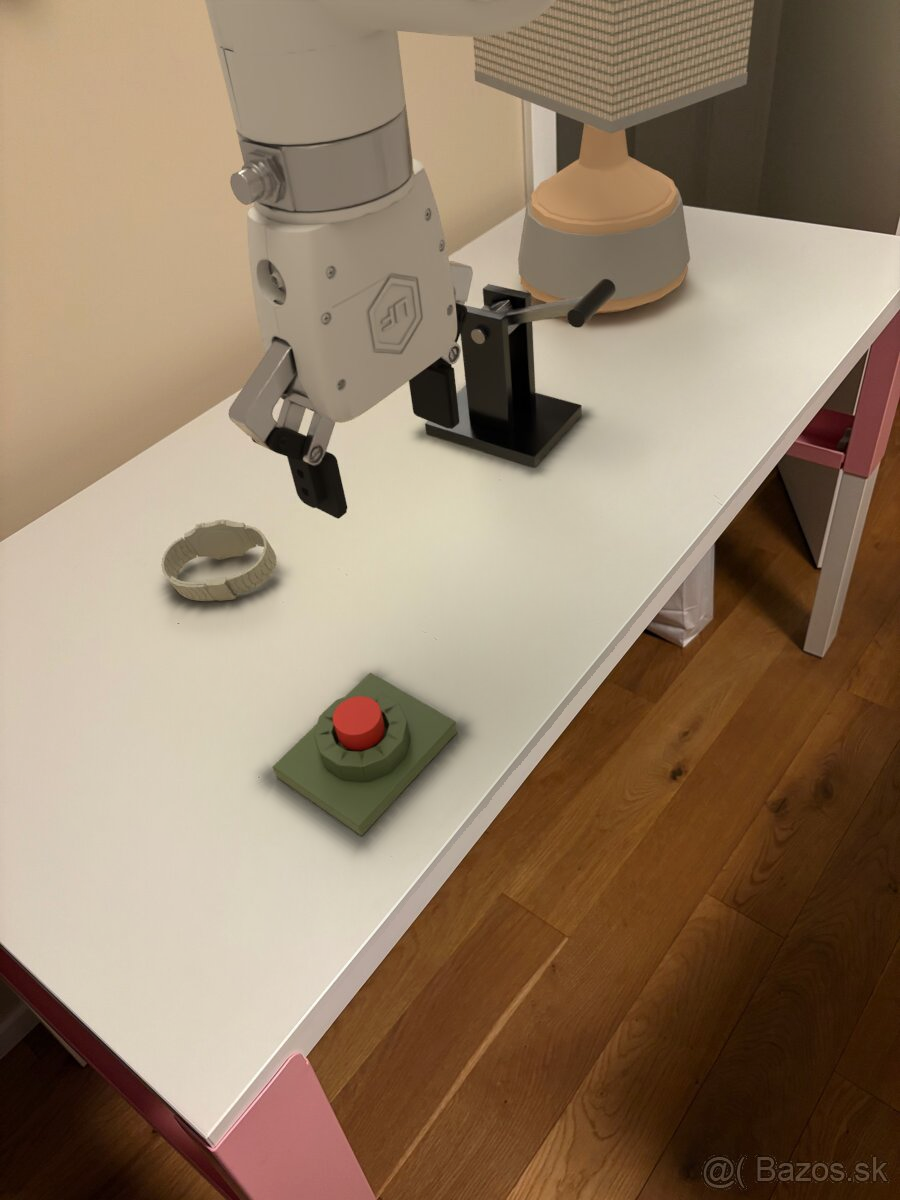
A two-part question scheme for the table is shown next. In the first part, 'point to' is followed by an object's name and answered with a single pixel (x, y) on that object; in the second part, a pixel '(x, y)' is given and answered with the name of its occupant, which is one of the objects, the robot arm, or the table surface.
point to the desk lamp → (613, 134)
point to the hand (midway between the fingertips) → (383, 461)
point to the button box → (366, 756)
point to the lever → (558, 307)
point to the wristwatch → (219, 544)
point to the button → (359, 723)
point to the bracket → (504, 388)
